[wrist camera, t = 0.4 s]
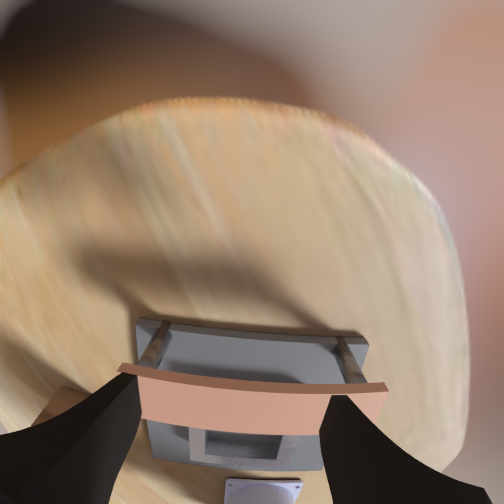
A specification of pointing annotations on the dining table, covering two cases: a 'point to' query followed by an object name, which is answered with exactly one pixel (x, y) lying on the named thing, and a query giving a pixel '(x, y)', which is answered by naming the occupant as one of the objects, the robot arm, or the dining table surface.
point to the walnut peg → (60, 403)
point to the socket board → (244, 367)
